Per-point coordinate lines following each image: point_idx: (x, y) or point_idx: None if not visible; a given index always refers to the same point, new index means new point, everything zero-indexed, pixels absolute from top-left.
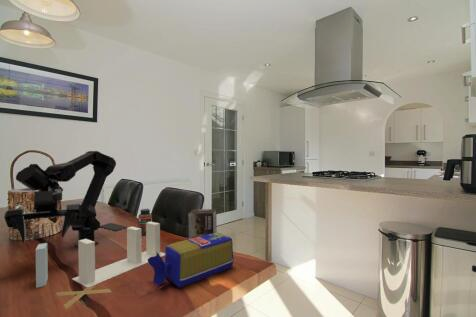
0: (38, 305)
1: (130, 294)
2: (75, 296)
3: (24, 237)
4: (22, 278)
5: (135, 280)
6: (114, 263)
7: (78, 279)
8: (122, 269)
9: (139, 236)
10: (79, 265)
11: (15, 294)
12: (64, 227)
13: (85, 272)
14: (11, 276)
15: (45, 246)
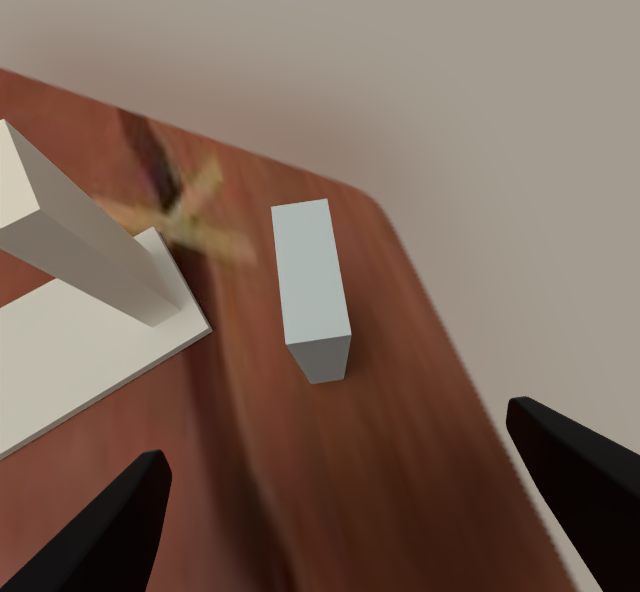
0: (293, 197)
1: None
2: (194, 209)
3: (536, 425)
4: (445, 477)
5: None
6: (12, 436)
7: (182, 307)
8: (5, 336)
9: None
10: (145, 281)
11: (397, 302)
12: (68, 545)
13: (134, 245)
14: (523, 544)
15: (277, 247)
